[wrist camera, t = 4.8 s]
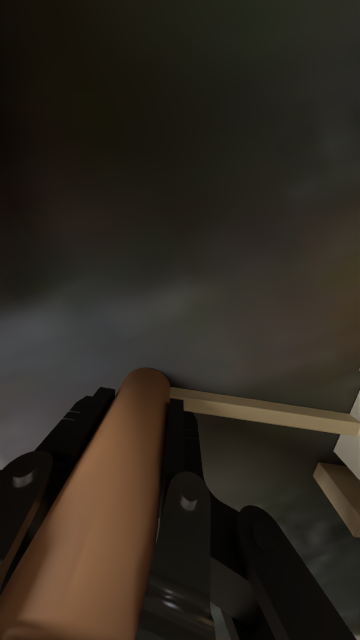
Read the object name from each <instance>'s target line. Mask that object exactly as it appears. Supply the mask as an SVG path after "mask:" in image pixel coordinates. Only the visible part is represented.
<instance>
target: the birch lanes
mask: <svg viewBox="0 0 360 640" xmlns="http://www.w3.org/2000/svg"><path fill="white" fill-rule="evenodd" d="M359 371H360V369H359ZM313 477H314V478H315V480H316V481H317V483H318V484H319V486H320V487H321V489H322V490H323V492H324V493H325V495H326V496H327V498H328V499H329V500H330V502H331V503H332V505H333V506H334V508H335V509H336V511H337V512H338V514H339V515H340V517H341V518H342V520H343V521H344V523H345V524H346V526H347V527H348V529H349V530H350V532H351V533H352V535H353V536H354V537H359V538H360V480H359V479H358V478H357V477H356V475H355V474H354V473H353V472H352V471H351V470H350V469H349V468H348V467H347V466H341V465H334V464H328V463H321V462H318V464H317V467H316V469H315V471H314V473H313Z"/></svg>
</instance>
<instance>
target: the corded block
mask: <svg viewBox="0 0 360 640" xmlns="http://www.w3.org/2000/svg"><path fill="white" fill-rule="evenodd" d="M170 398H174V399H181V400H184V411H190V412H195V413H202V414H209V415H216V416H222V417H229V418H236V419H243V420H249V421H256V422H263V423H270V424H277V425H283V426H290V427H297V428H304V429H311V430H317V431H324V432H331V433H338V434H341V435H340V437H339V439H338V442H337V444H336V446H335V448H334V452H335V453H336V454H337V455H338V457H339V458H340V459H341V460H342V461H343V462H344V463H345V464H346V465H347V467H348V468H349V469H350V470H351V471H352V472H353V473H354V474H355V475H356V477H357V478H358V479H359V480H360V391H359V394H358V396H357V398H356V401H355V403H354V405H353V407H352V410H351V412H350V414H347V413H341V412H334V411H327V410H321V409H314V408H308V407H301V406H294V405H288V404H281V403H274V402H268V401H261V400H254V399H248V398H241V397H235V396H228V395H221V394H215V393H208V392H201V391H195V390H188V389H181V388H175V387H170V383H169V381H168V379H167V378H166V377H165V375H164V374H162V373H161V372H159V371H157V370H155V369H152V368H140V369H137V370H134V371H132V372H131V373H130V374H129V375H128V376H127V377H126V379H125V380H124V382H123V384H122V385H121V387H120V389H119V391H118V392H117V394H116V396H115V398H114V399H113V401H112V403H111V405H110V406H109V408H108V410H107V411H106V413H105V415H104V417H103V418H102V420H101V422H100V424H99V425H98V427H97V429H96V431H95V432H94V434H93V436H92V437H91V439H90V441H89V443H88V444H87V446H86V448H85V450H84V451H83V453H82V455H81V456H80V458H79V460H78V462H77V463H76V465H75V467H74V469H73V470H72V472H71V474H70V476H69V477H68V479H67V481H66V482H65V484H64V486H63V488H62V489H61V491H60V493H59V495H58V496H57V498H56V500H55V502H54V503H53V505H52V507H51V508H50V510H49V512H48V514H47V515H46V517H45V519H44V521H43V522H42V524H41V526H40V527H39V529H38V531H37V533H36V534H35V536H34V538H33V540H32V541H31V543H30V545H29V547H28V548H27V550H26V552H25V553H24V555H23V557H22V559H21V560H20V562H19V564H18V566H17V567H16V569H15V571H14V573H13V574H12V576H11V578H10V579H9V581H8V583H7V585H6V586H5V588H4V590H3V592H2V593H1V595H0V640H135V637H136V632H137V628H138V623H139V619H140V614H141V610H142V605H143V601H144V596H145V592H146V588H147V584H148V579H149V575H150V570H151V566H152V561H153V556H154V552H155V547H156V537H157V527H158V517H159V507H160V496H161V475H162V465H163V456H164V446H165V437H166V427H167V418H168V408H169V401H170Z"/></svg>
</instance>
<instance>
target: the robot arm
mask: <svg viewBox="0 0 360 640" xmlns="http://www.w3.org/2000/svg"><path fill="white" fill-rule="evenodd" d="M114 398H115V389H110V388H103V387H100V388H99V389H98V390H97V392H96V393H95V394H94V395H93V397H92V396H86V397H84V398H83V399H81V400H79V401H78V402H76V404H75V405H74V406H73V407H72V408H71V409H70V411H69V412H68V413H67V414H66V415H65V416H64V417H63V419H62V420H61V421H60V422H59V423H58V424H57V425H56V427H55V428H54V429H53V430H52V431H51V432H50V433H49V435H48V436H47V437H46V438H45V439H44V440H43V441H42V443H41V444H40V445H39V446H38V447H37V448H36V450H35V451H33V452H29V453H26V454H24V455H21V456H20V457H18V458H16V459H14V460H13V461H12V462H10V463H9V464H8V465H7V466H6V467H4V468H3V470H0V595H1V593H2V592H3V590H4V588H5V586H6V585H7V583H8V581H9V579H10V578H11V576H12V574H13V573H14V571H15V569H16V567H17V566H18V564H19V562H20V560H21V559H22V557H23V555H24V553H25V552H26V550H27V548H28V547H29V545H30V543H31V541H32V540H33V538H34V536H35V534H36V533H37V531H38V529H39V527H40V526H41V524H42V522H43V521H44V519H45V517H46V515H47V514H48V512H49V510H50V508H51V507H52V505H53V503H54V502H55V500H56V498H57V496H58V495H59V493H60V491H61V489H62V488H63V486H64V484H65V482H66V481H67V479H68V477H69V476H70V474H71V472H72V470H73V469H74V467H75V465H76V463H77V462H78V460H79V458H80V456H81V455H82V453H83V451H84V450H85V448H86V446H87V444H88V443H89V441H90V439H91V437H92V436H93V434H94V432H95V431H96V429H97V427H98V425H99V424H100V422H101V420H102V418H103V417H104V415H105V413H106V411H107V410H108V408H109V406H110V405H111V403H112V401H113V399H114ZM158 518H160V528H159V533H158V538H157V543H156V547H155V552H154V556H153V561H152V566H151V570H150V575H149V579H148V584H147V588H146V592H145V596H144V601H143V605H142V610H141V614H140V619H139V623H138V628H137V632H136V637H135V640H216V636H215V626H214V621H213V618H212V616H211V609H210V601H211V602H212V603H214V604H215V605H216V606H218V607H219V608H220V609H221V612H222V615H223V617H224V620H225V623H226V626H227V629H228V632H229V635H230V638H231V640H356V638H355V637H354V635H353V634H352V632H351V631H350V629H349V628H348V627H347V625H346V624H345V622H344V621H343V619H342V618H341V616H340V615H339V613H338V612H337V610H336V609H335V607H334V606H333V605H332V603H331V602H330V600H329V599H328V597H327V596H326V594H325V593H324V591H323V590H322V588H321V587H320V585H319V584H318V583H317V581H316V580H315V578H314V577H313V575H312V574H311V572H310V571H309V569H308V568H307V566H306V565H305V563H304V562H303V561H302V559H301V558H300V556H299V555H298V553H297V552H296V550H295V549H294V547H293V546H292V544H291V543H290V541H289V540H288V539H287V537H286V536H285V534H284V533H283V531H282V530H281V528H280V527H279V525H278V524H277V523H276V521H275V520H274V519H273V518H272V517H271V516H270V515H269V514H268V513H267V512H265V511H264V510H263V509H261V508H259V507H256V506H252V505H250V506H245V507H244V508H242V509H241V511H240V512H238V511H237V510H235V509H233V508H231V507H229V506H228V505H226V504H224V503H222V502H221V501H219V500H218V499H217V498H216V497H215V496H214V495H213V494H212V493H211V492H210V490H209V489H208V487H207V485H206V483H205V481H204V477H203V471H202V462H201V452H200V443H199V434H198V425H197V419H196V418H195V416H194V414H193V412H190V411H184V400H181V399H174V398H170V401H169V408H168V418H167V427H166V437H165V446H164V456H163V465H162V475H161V496H160V507H159V517H158Z"/></svg>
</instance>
